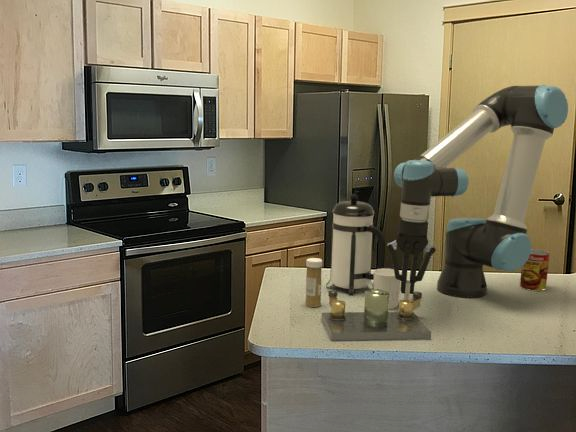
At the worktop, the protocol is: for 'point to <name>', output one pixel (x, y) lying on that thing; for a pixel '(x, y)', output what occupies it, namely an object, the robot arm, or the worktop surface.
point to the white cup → (388, 285)
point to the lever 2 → (409, 305)
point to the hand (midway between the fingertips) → (405, 304)
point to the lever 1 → (336, 306)
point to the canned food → (535, 270)
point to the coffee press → (354, 245)
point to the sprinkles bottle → (313, 282)
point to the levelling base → (374, 332)
